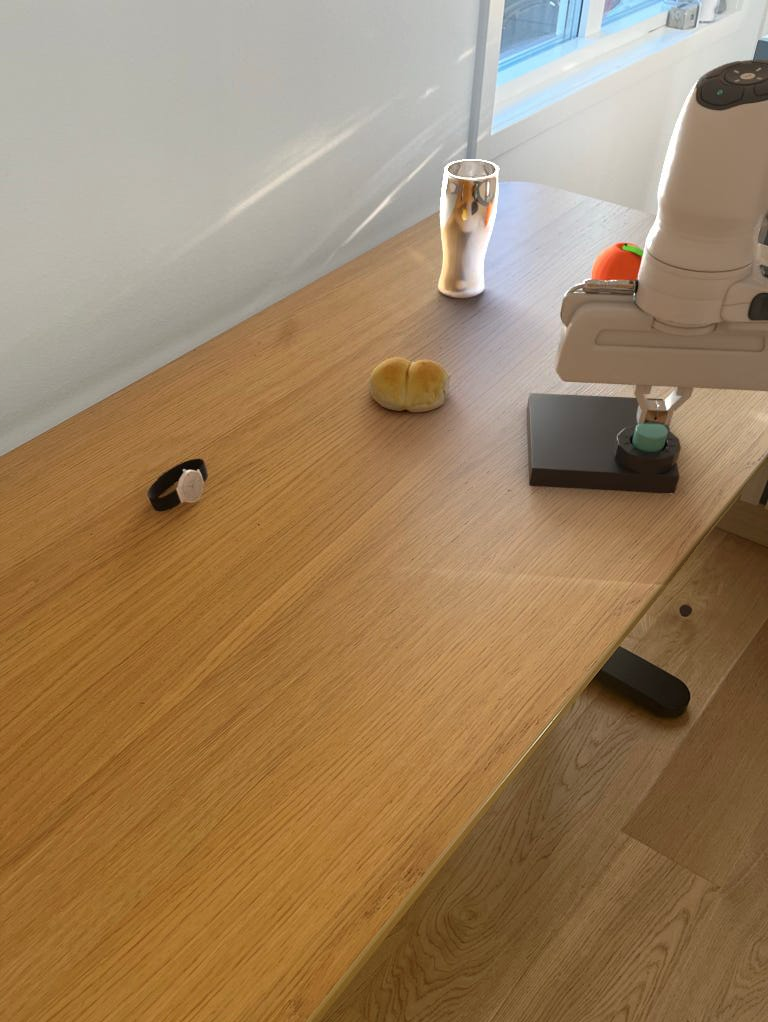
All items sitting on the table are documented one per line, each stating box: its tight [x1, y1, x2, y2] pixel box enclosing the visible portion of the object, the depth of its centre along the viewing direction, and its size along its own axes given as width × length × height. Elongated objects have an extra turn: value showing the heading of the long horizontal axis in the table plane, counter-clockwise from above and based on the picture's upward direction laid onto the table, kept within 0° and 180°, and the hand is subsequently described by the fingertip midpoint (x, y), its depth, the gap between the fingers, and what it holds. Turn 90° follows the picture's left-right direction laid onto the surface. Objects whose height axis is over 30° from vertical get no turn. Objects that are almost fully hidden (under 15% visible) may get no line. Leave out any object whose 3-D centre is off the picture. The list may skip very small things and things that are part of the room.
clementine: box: [590, 241, 644, 281], centre depth 119 cm, size 8×7×7 cm
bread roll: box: [368, 356, 451, 413], centre depth 106 cm, size 8×9×4 cm
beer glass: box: [437, 159, 500, 299], centre depth 120 cm, size 7×7×15 cm
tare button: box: [632, 424, 668, 452], centre depth 92 cm, size 3×3×2 cm
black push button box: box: [526, 392, 682, 495], centre depth 97 cm, size 14×14×4 cm
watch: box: [147, 458, 209, 512], centre depth 95 cm, size 8×5×4 cm, turn 147°
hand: (652, 421), depth 91 cm, fingers closed
